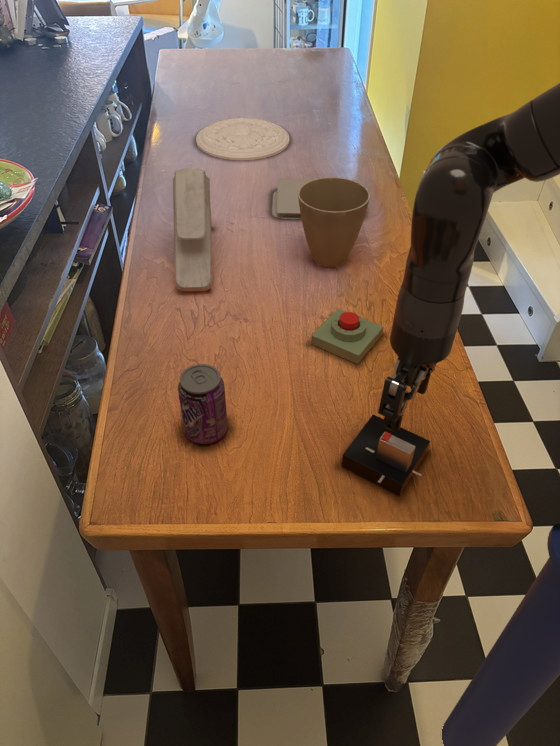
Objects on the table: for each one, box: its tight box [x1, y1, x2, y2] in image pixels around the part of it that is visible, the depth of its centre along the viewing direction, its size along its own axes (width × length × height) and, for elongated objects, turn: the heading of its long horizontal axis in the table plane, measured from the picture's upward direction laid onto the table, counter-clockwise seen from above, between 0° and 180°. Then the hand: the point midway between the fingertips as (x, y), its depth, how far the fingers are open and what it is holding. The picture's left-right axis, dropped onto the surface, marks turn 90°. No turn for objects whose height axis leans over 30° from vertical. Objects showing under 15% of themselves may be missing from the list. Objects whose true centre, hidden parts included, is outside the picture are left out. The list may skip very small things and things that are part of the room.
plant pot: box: [298, 176, 371, 269], centre depth 130 cm, size 15×15×16 cm
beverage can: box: [177, 363, 228, 445], centre depth 94 cm, size 7×7×12 cm
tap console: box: [341, 414, 431, 497], centre depth 93 cm, size 12×12×3 cm
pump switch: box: [311, 308, 384, 365], centre depth 114 cm, size 10×10×4 cm
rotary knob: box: [376, 432, 416, 473], centre depth 89 cm, size 5×2×5 cm, turn 56°
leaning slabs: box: [172, 167, 213, 292], centre depth 132 cm, size 8×25×23 cm
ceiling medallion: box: [195, 117, 290, 161], centre depth 180 cm, size 28×28×3 cm
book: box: [271, 178, 359, 220], centre depth 152 cm, size 15×23×4 cm, turn 89°
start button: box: [339, 311, 360, 331], centre depth 112 cm, size 4×4×2 cm
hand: (404, 408), depth 82 cm, fingers open, 8 cm apart
